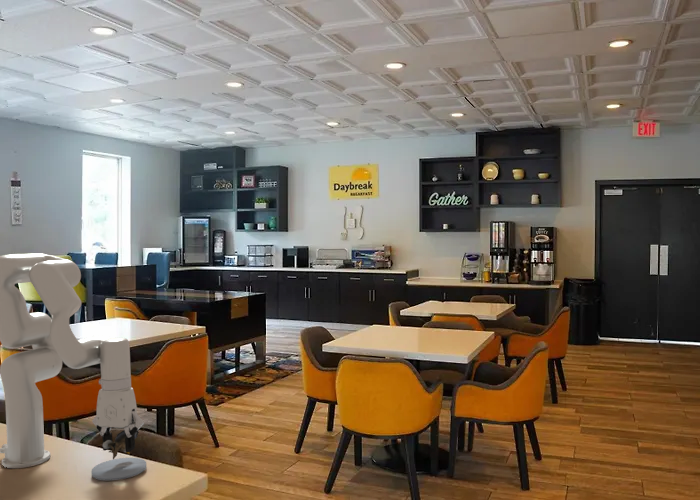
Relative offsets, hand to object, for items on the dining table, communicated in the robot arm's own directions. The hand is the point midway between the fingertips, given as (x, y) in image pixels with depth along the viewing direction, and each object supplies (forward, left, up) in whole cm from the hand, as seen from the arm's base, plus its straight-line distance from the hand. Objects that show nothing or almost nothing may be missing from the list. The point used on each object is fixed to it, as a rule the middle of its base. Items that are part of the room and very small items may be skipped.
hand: (119, 449), depth 169 cm
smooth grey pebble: (0, 0, -6) cm, 6 cm away
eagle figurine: (0, +2, -2) cm, 3 cm away
